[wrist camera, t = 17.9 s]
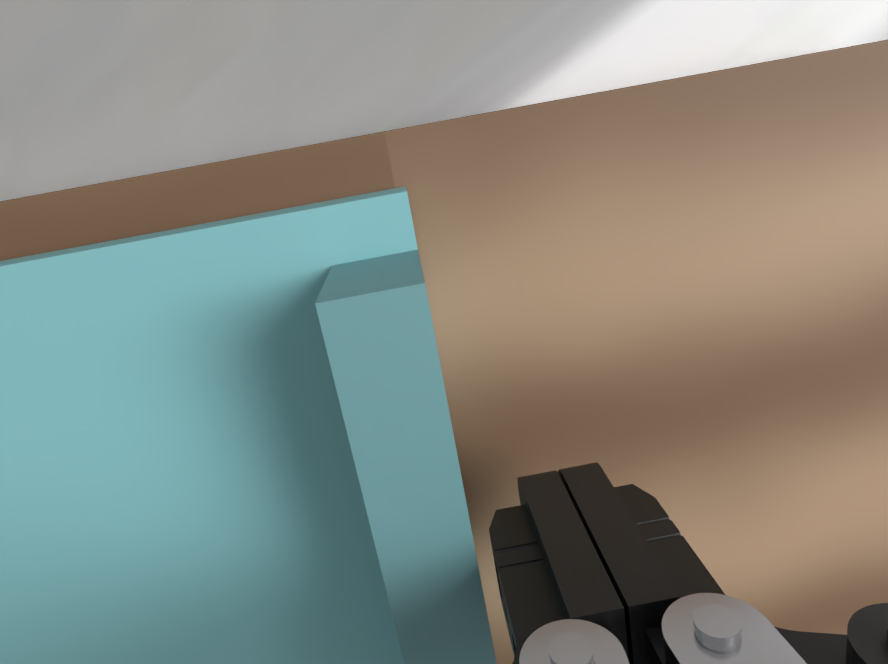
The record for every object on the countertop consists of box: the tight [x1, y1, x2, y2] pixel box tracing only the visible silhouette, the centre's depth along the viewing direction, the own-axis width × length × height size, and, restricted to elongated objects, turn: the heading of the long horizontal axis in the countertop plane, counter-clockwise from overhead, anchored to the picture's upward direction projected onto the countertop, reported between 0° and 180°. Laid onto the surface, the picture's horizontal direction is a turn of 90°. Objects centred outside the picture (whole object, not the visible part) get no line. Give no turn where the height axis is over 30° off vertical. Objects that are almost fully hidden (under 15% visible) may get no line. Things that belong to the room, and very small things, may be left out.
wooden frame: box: [0, 40, 888, 664], centre depth 15 cm, size 14×22×3 cm, turn 100°
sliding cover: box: [0, 186, 497, 664], centre depth 11 cm, size 12×10×4 cm
